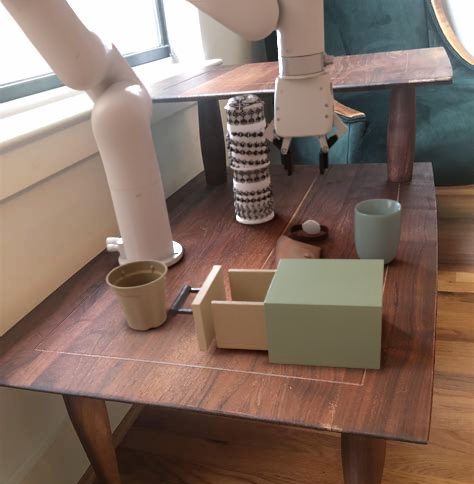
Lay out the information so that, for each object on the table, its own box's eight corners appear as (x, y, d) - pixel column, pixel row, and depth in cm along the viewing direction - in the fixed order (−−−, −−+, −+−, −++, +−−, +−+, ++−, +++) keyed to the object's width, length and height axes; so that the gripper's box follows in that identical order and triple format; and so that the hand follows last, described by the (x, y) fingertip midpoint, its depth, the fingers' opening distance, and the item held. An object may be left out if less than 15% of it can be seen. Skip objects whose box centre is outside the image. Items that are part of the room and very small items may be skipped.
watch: (331, 235, 107) (331, 218, 106) (325, 245, 104) (325, 227, 102) (294, 233, 110) (293, 216, 108) (287, 243, 107) (285, 225, 105)
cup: (400, 270, 92) (403, 215, 87) (353, 270, 94) (353, 216, 89) (398, 250, 99) (401, 197, 93) (354, 251, 100) (354, 199, 95)
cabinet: (269, 363, 74) (263, 302, 69) (284, 314, 85) (280, 258, 80) (379, 369, 71) (382, 306, 66) (381, 317, 81) (384, 259, 76)
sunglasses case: (327, 294, 87) (304, 263, 85) (291, 315, 90) (267, 285, 87) (321, 246, 102) (301, 219, 100) (290, 265, 105) (270, 239, 103)
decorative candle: (284, 215, 119) (276, 94, 106) (250, 228, 115) (237, 104, 102) (260, 205, 126) (249, 90, 113) (226, 217, 122) (211, 99, 109)
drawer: (168, 349, 78) (158, 303, 74) (192, 308, 88) (184, 264, 83) (294, 356, 74) (291, 307, 70) (305, 312, 83) (303, 266, 79)
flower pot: (125, 307, 92) (113, 261, 87) (180, 303, 91) (171, 256, 87) (112, 339, 84) (99, 290, 79) (172, 334, 83) (162, 285, 79)
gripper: (355, 57, 91) (355, 165, 101) (256, 66, 96) (265, 168, 105) (352, 65, 85) (352, 178, 95) (247, 73, 90) (257, 181, 99)
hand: (306, 172), depth 100 cm, fingers open, 5 cm apart
